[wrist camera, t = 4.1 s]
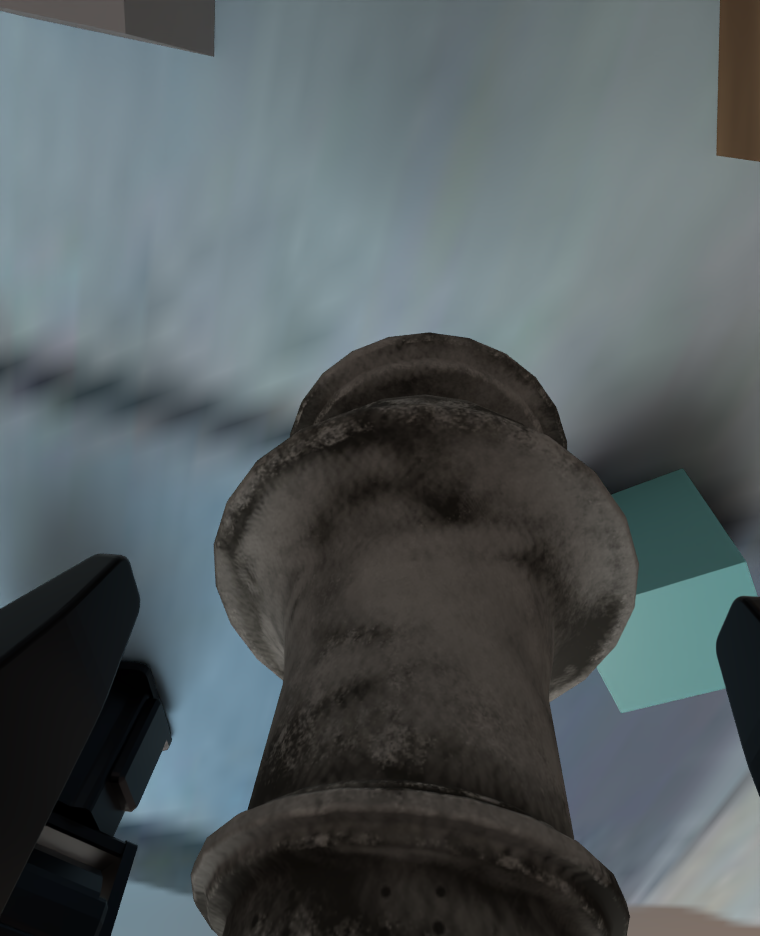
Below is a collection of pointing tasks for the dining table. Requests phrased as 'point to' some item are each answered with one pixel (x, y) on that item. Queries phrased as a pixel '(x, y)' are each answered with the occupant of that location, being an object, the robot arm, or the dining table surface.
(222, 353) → the dining table surface
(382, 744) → the salt shaker
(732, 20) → the walnut block
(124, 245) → the dining table surface
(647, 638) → the teal block
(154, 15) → the grey cube
